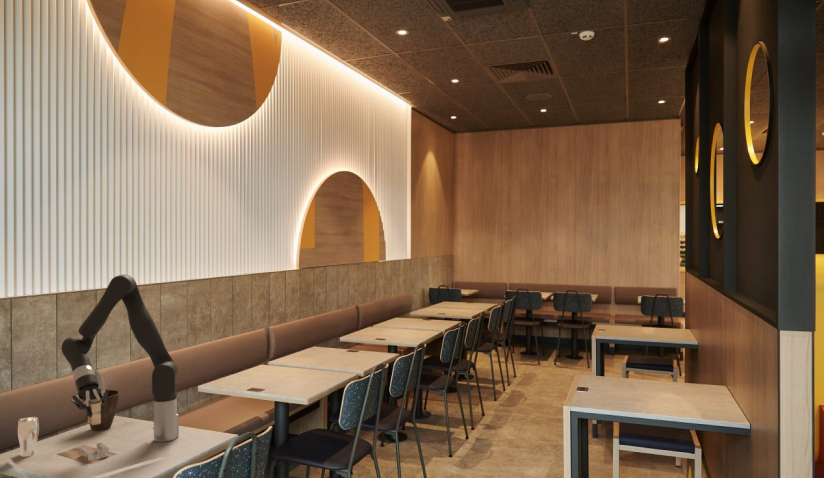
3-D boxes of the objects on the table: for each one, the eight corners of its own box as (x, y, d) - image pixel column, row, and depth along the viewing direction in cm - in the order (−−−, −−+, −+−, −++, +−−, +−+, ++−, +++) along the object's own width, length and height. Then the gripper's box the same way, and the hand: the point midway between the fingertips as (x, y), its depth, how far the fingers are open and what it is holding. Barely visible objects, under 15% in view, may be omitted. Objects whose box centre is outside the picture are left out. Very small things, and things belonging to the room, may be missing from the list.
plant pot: (98, 422, 262) (98, 389, 262) (127, 423, 260) (126, 390, 260) (74, 433, 247) (74, 398, 247) (105, 435, 245) (104, 399, 245)
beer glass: (28, 460, 217) (27, 422, 217) (13, 459, 218) (13, 421, 218) (43, 453, 224) (43, 417, 224) (28, 452, 225) (28, 416, 225)
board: (83, 447, 230) (83, 445, 230) (117, 456, 220) (117, 453, 220) (56, 457, 220) (56, 454, 220) (90, 467, 210) (90, 464, 210)
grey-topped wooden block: (87, 422, 218) (87, 399, 218) (96, 420, 220) (96, 398, 220) (92, 425, 215) (92, 402, 215) (100, 423, 217) (100, 400, 217)
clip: (80, 456, 218) (80, 447, 218) (100, 450, 223) (100, 442, 223) (88, 462, 212) (88, 453, 212) (108, 456, 217) (108, 448, 217)
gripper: (67, 376, 217) (78, 414, 209) (106, 370, 228) (117, 405, 220) (63, 388, 221) (73, 425, 213) (101, 381, 231) (112, 416, 223)
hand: (96, 415), depth 216 cm, fingers closed on grey-topped wooden block, 3 cm apart
